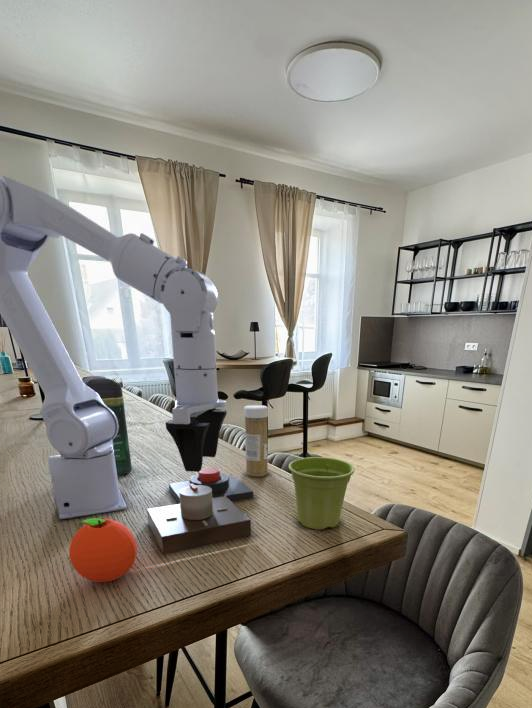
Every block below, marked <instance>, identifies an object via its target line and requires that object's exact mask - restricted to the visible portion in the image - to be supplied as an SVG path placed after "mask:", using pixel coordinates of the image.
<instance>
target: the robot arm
mask: <svg viewBox="0 0 532 708" xmlns="http://www.w3.org/2000/svg"><path fill="white" fill-rule="evenodd" d="M61 237H64V238H65V239H67V240H68V241H71V242H73V243H74V244H76V245H78V246H80V247H81V248H84V249H86V250H88V251H89V252H90V253H93V254H95V255H96V256H98V257H100V258H102V259H104V260H106V261H108V262H109V264H110V267H111V270H112V272H113V274H114V276H115V278H117V279H118V280H119V281H121V282H123V283H125V284H126V285H128V286H130V287H131V288H133V289H134V290H136V291H138V292H139V293H142V294H143V295H145V296H147V297H148V298H150V299H152V300H153V301H155V302H157V303H159V304H162V305H163V307H164V308H165V309H166V311H167V312H168V313H169V319H170V329H171V331H170V333H171V335H170V336H171V348H172V358H173V368H174V371H173V373H174V383H175V394H176V400H175V402H174V407H173V408H172V409H171V411H172V419H169V420H167V421H165V429H166V431H167V433H168V434H169V435H170V436H171V438H172V440H173V441H174V443H175V445H176V447H177V451H178V453H179V456H180V458H181V462H182V465H183V467H184V470H185V472H193V473H198V472H200V471H201V469H203V462H204V461H203V460H204V459H203V458H216V456H217V450H218V446H219V439H220V433H221V429H222V426H223V423H224V420H225V418H226V416H227V414H228V413H227V412H228V411H227V409H224V407H226V406H227V400H221V399H219V395H218V375H217V352H216V350H217V349H216V333H215V325H214V312H215V311H216V308H217V306H218V299H219V296H218V295H219V294H218V290H217V288H216V286H215V284H214V283H213V281H212V280H211V279H210V278H209V277H208V276H207V275H206V274H205V273H204V272H203V271H198V270H194V269H192V268H190V267H187V264H188V261H187V260H186V259H185V258H183V257H181V256H179V255H177V256H176V257H174V256H172V255H171V254H168V253H167V252H165V251H164V250H162V249H160V248H159V247H157V246H155V245H154V244H155V240H154V239H153V238H151V237H150V236H149V235H146V234H145V233H143V232H141V233H140V234H139V236H138V235H137V234H135V233H130V232H129V233H127V234H126V233H125V234H124V235H121V236H117V235H115V234H114V233H112V232H111V231H109V230H108V229H106V228H105V227H103V226H101V225H99V224H98V223H97V222H96V221H94V220H92V219H91V218H89V217H87V216H86V215H84V214H82V213H81V212H80V211H77V209H74V208H73V207H72V206H70V205H69V204H67V203H65V202H63V201H62V200H60V199H57V198H56V197H54V196H52V195H50V194H48V193H46V192H44V191H41V190H39V189H37V188H34V187H32V186H30V185H28V184H24V183H22V182H21V181H18V180H16V179H13V178H10V177H8V176H5V175H4V174H3V175H2V176H1V175H0V316H1V318H2V319H3V321H4V323H5V325H6V327H7V328H8V331H9V332H10V334H11V336H12V338H13V339H14V341H15V343H16V345H17V347H18V349H19V350H20V352H21V354H22V356H23V357H24V359H25V361H26V363H27V365H28V367H29V368H30V370H31V372H32V374H33V376H34V377H35V380H36V381H37V383H38V385H39V386H40V388H41V390H42V392H43V394H44V396H45V397H44V400H43V402H42V405H41V408H40V410H39V413H40V415H41V418H42V419H43V421H44V424H45V431H46V432H45V433H46V436H47V440H48V443H49V444H50V445H51V446H52V448H53V449H54V450H55V451H57V453H59V454H57V455H50V456H48V457H47V458H48V466H49V472H50V478H51V484H52V487H53V492H52V496H53V501H54V504H55V505H56V507H57V512H58V518H59V520H65V519H66V520H67V519H73V518H79V517H85V516H91V515H97V514H104V513H109V512H116V511H122V510H126V509H127V505H126V502H125V500H124V497H123V494H122V493H121V491H120V486H119V478H118V476H117V471H116V464H115V457H114V450H113V446H114V445H113V439H114V438H115V437H116V435H117V433H118V428H119V425H118V420H117V418H116V416H115V414H114V413H113V411H112V410H111V409H109V408H108V407H107V406H106V405H105V404H104V403H103V402H102V400H101V398H100V396H99V394H98V393H97V392H95V391H94V390H92V389H91V388H89V387H88V386H87V385H85V384H84V383H83V382H82V380H81V379H82V377H81V376H80V374H79V372H78V370H77V368H76V366H75V364H74V362H73V361H72V358H71V356H70V355H69V352H68V351H67V349H66V347H65V345H64V343H63V341H62V339H61V337H60V335H59V334H58V331H57V329H56V327H55V326H54V324H53V322H52V319H51V317H50V316H49V313H48V312H47V310H46V308H45V306H44V304H43V302H42V300H41V299H40V296H39V294H38V293H37V290H36V289H35V287H34V284H33V283H32V281H31V279H30V277H29V275H28V270H29V267H30V265H32V263H33V262H34V260H36V257H37V256H38V255H39V254H40V252H41V251H42V249H43V248H44V247H45V245H46V243H47V242H48V241H49V239H50V238H53V239H59V238H61Z"/></svg>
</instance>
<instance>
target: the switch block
mask: <svg viewBox="0 0 532 708" xmlns="http://www.w3.org/2000/svg"><path fill="white" fill-rule="evenodd" d="M192 483H193V484H194V485H203V486H208V487H210V488H211V489H212V498H217V497H223V496H226V497H227V498H228V499H229V500H230V501H231V502H232V503H234V502H238V501H243V500H250V499H254V491H253V489H251V488H250V487H248V486H247V485H246V484H245V483H244V482H242V481H241V480H240V479H238V478H237V477H236V476H234V475H233V474H228V475H227V474H226V473H222V472H220V480H218V481H215V482H201V481H199V474H198V473H197V474H194V475H191V477H190V478H189V480H185V481H179V482H172V483H171V482H170V483H168V491H169V492H170V493H171V495H172V496H173V498H174V499H175V500H176V502H177V504H180V495H179V491H180V490H181V489H182V488H184V487H187V486H189V484H192Z"/></svg>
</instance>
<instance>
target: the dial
mask: <svg viewBox="0 0 532 708" xmlns="http://www.w3.org/2000/svg"><path fill="white" fill-rule="evenodd" d="M179 495H180V507H181V516H182V517H183V518H185V519H188V520H201V519H206V518H208V517H210V516H212V514H213V500H212V489H211V488H210V487H208V486H203V485H194V484H193V483H192V484H189V486H187V487H184V488H182V489H181V490H180V491H179Z"/></svg>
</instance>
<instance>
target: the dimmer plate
mask: <svg viewBox="0 0 532 708" xmlns="http://www.w3.org/2000/svg"><path fill="white" fill-rule="evenodd" d="M212 500H213V514H212V516H210V517H208V518H206V519H201V520H188V519H185V518H183V517H182V516H181V507H180V504H179V503H174V504H170V505H162V506H157V507H156V506H155V507H151V508H146V513H147V514H146V515H147V523H148V526H149V528H150V530H151V532H152V535H153V536H154V538H155V540H156V543H157V544H158V546H159V548H160V550H161V552H162V554H163V555H168V554H173V553H178V552H181V551H186V550H191V549H195V548H199V547H200V548H201V547H205V546H209V545H215V544H219V543H223V542H227V541H233V540H238V539H242V538H246V537H251V536H252V520H251V518H250V517H248V515H247V514H245V512H243V511H242V510H241V509H240V508H239V507H238V506H237V505H236V504H235V503H234V502H231V501H230V500H229V499H228V498H227V497H226V496H223V497H217V498H212Z"/></svg>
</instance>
